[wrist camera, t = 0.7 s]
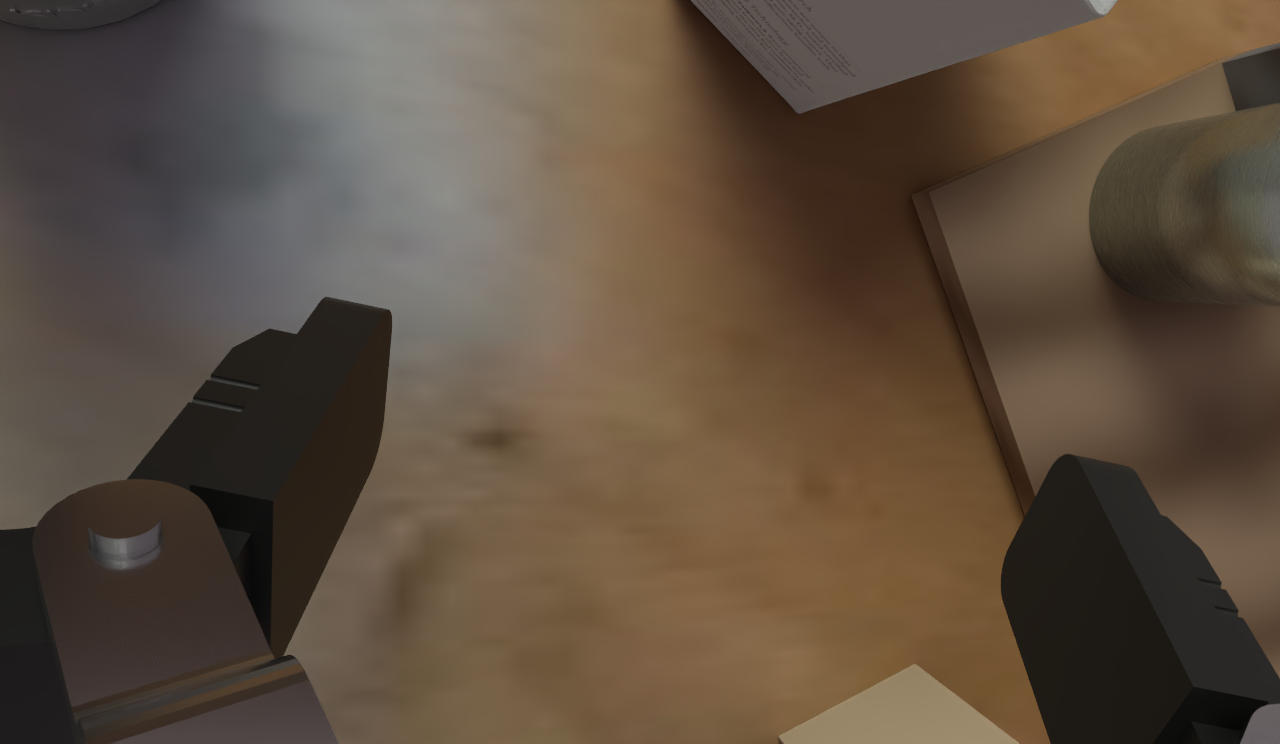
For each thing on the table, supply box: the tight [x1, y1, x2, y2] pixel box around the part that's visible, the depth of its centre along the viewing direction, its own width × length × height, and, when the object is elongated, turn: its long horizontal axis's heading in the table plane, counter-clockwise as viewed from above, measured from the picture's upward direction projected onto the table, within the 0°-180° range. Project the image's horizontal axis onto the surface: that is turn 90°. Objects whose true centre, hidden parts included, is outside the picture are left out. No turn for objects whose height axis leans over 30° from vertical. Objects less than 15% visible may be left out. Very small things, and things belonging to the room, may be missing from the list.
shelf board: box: [911, 43, 1280, 678], centre depth 36 cm, size 24×13×4 cm, turn 23°
